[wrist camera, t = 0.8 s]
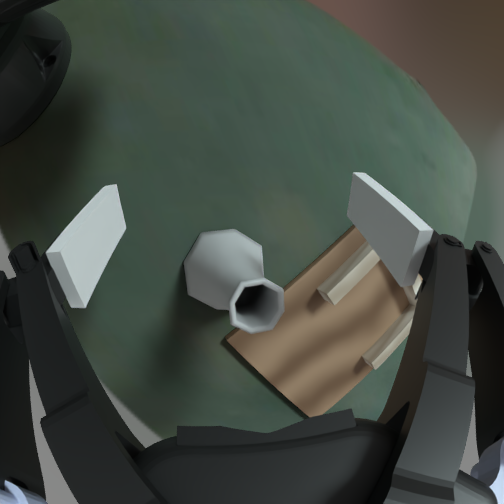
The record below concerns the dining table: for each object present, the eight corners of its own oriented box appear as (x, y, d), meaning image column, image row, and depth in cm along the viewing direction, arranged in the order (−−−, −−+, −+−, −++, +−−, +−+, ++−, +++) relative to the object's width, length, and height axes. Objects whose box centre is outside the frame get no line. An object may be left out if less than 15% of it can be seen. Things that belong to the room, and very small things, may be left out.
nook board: (224, 336, 25) (231, 350, 22) (382, 196, 28) (400, 196, 25) (311, 417, 30) (321, 430, 27) (426, 301, 33) (441, 306, 30)
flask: (253, 313, 26) (298, 367, 16) (175, 301, 23) (179, 358, 14) (272, 237, 25) (331, 254, 15) (192, 219, 23) (205, 225, 13)
